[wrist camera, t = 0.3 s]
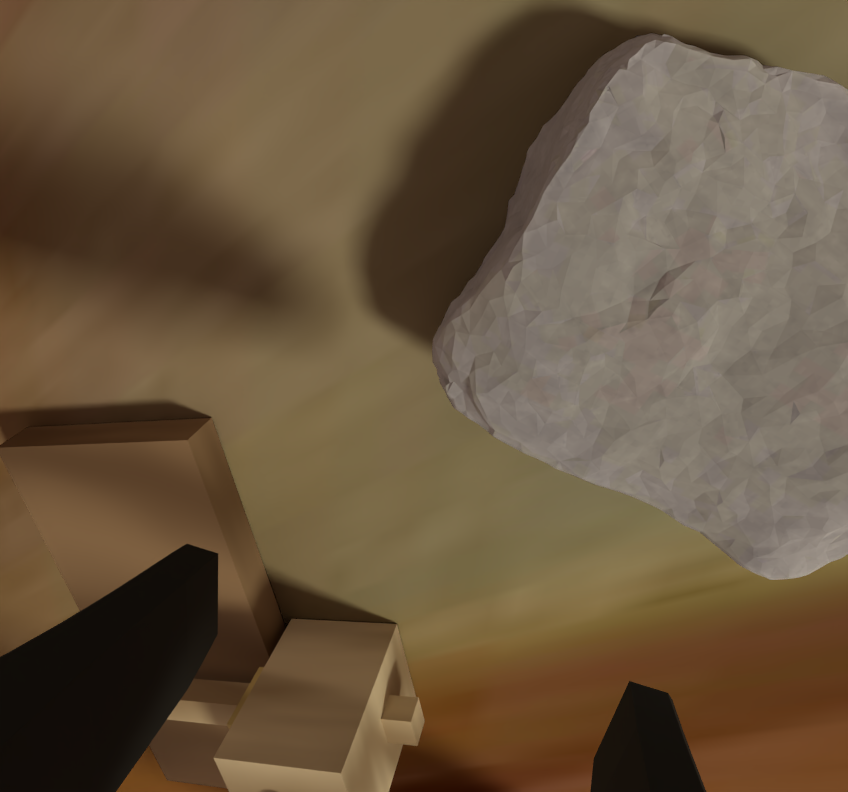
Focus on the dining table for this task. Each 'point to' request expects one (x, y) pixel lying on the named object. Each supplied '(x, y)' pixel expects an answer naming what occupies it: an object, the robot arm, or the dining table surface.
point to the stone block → (677, 300)
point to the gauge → (314, 711)
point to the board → (152, 541)
